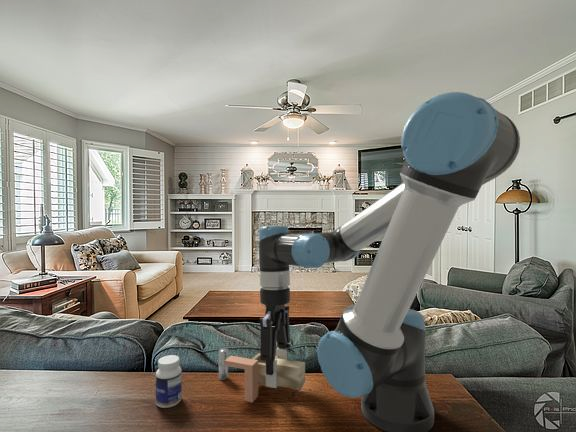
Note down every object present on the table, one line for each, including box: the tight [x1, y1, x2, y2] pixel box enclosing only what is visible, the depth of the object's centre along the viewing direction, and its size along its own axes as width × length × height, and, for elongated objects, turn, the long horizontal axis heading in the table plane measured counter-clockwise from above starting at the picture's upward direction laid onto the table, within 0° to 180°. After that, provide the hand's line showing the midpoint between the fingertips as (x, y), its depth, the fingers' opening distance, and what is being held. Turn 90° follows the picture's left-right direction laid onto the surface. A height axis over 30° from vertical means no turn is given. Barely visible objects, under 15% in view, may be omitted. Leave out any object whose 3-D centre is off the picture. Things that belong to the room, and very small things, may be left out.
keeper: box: [224, 355, 259, 404], centre depth 78 cm, size 8×3×9 cm, turn 69°
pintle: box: [218, 347, 229, 381], centre depth 87 cm, size 2×2×8 cm
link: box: [251, 353, 306, 390], centre depth 81 cm, size 14×6×5 cm, turn 69°
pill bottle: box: [155, 354, 183, 409], centre depth 76 cm, size 6×6×10 cm
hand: (277, 380), depth 81 cm, fingers closed on link, 6 cm apart
